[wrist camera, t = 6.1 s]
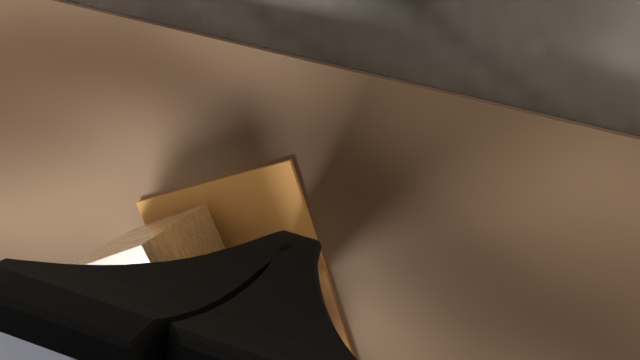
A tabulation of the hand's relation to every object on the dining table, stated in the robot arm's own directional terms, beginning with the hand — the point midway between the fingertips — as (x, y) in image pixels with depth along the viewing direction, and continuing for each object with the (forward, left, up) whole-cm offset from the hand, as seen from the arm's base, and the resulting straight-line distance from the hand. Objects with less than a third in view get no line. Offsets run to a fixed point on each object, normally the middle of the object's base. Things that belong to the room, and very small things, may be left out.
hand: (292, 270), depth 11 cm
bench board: (-5, +2, -3) cm, 6 cm away
